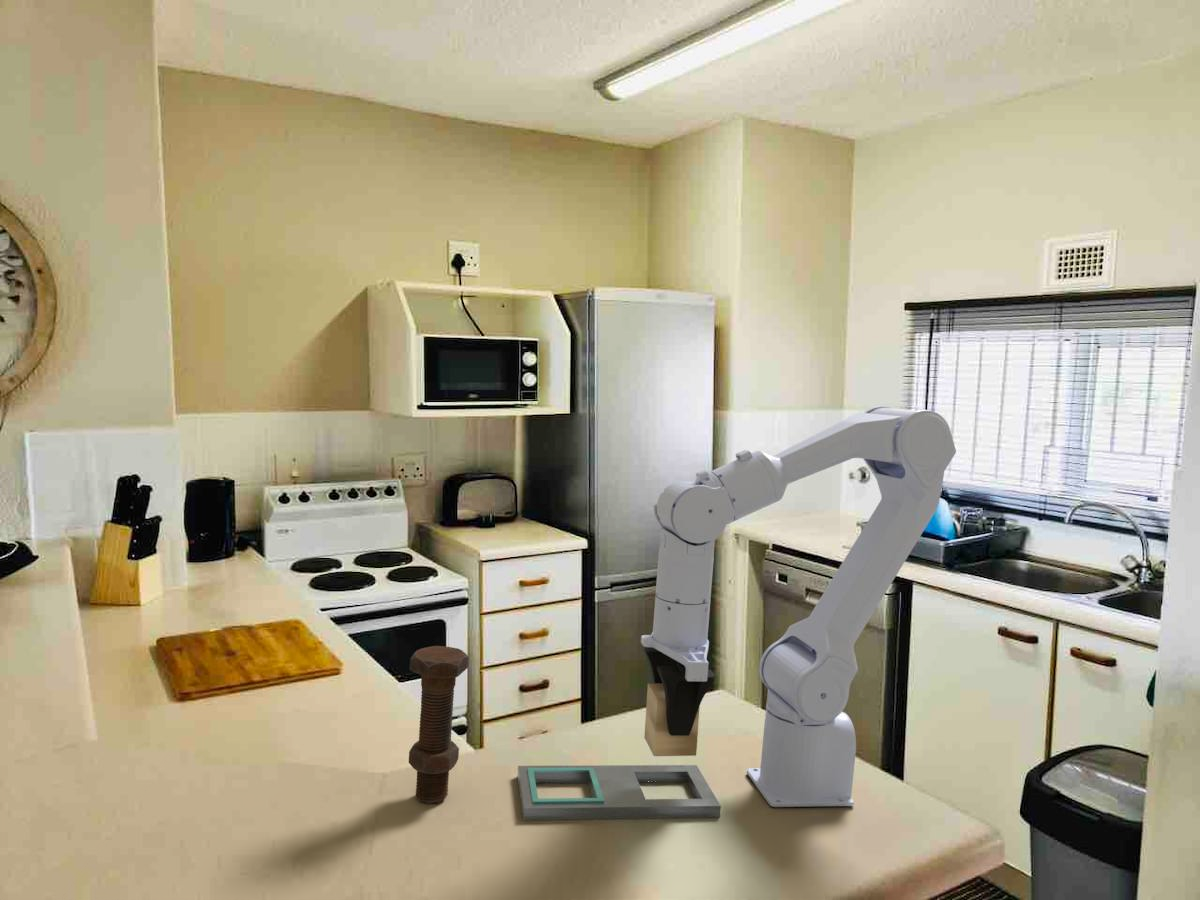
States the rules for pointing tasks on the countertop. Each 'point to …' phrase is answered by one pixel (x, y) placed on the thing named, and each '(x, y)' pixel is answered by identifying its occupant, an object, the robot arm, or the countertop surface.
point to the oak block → (665, 727)
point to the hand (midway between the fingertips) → (672, 723)
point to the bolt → (436, 719)
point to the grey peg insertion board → (615, 792)
